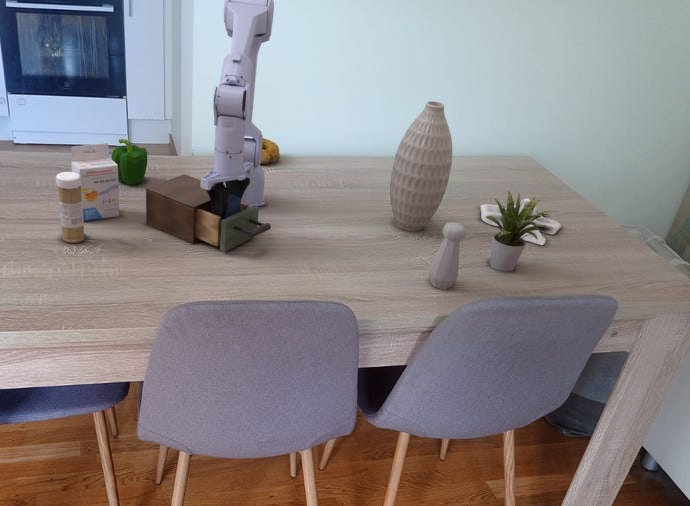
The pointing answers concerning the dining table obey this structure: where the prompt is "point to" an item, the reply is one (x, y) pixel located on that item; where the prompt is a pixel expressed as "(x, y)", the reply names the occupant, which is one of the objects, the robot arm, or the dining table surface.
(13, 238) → the dining table surface
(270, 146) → the bagel
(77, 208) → the sprinkles bottle
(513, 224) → the house plant
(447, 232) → the salt shaker
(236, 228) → the drawer
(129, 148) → the bell pepper
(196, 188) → the cabinet
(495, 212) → the cloth
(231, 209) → the box
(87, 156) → the ink box
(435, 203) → the vase
